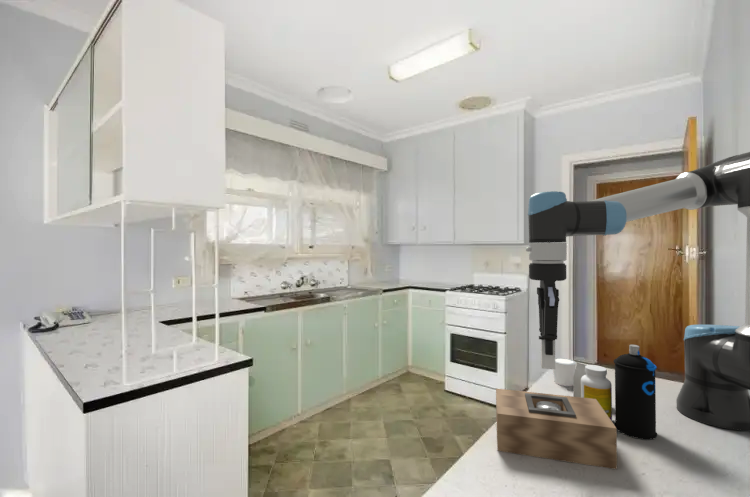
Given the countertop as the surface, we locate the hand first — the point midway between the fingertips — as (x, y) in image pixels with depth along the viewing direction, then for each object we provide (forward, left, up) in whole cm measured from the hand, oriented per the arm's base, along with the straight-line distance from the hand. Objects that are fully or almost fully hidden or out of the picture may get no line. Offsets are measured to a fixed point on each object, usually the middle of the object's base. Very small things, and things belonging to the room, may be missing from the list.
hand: (548, 367), depth 79 cm
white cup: (-10, -39, -17) cm, 44 cm away
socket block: (0, 0, -17) cm, 17 cm away
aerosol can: (-20, -11, -17) cm, 28 cm away
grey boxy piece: (-14, -26, -17) cm, 34 cm away
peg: (0, 0, -17) cm, 17 cm away
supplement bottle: (-13, -15, -17) cm, 26 cm away
